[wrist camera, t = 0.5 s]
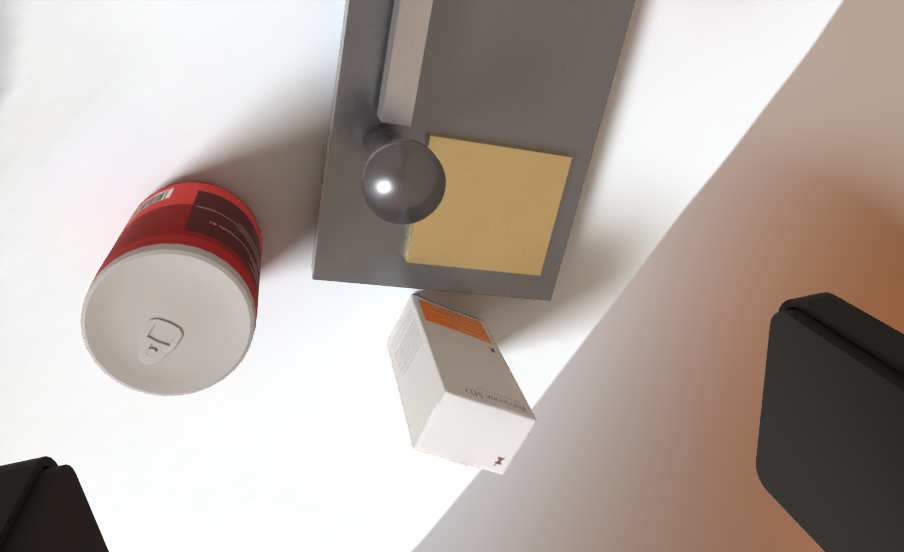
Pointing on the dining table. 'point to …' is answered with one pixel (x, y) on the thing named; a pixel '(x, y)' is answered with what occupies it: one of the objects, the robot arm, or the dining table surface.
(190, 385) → the canned food
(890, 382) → the robot arm
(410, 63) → the lever
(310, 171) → the dining table surface
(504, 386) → the skincare box
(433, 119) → the press bed
